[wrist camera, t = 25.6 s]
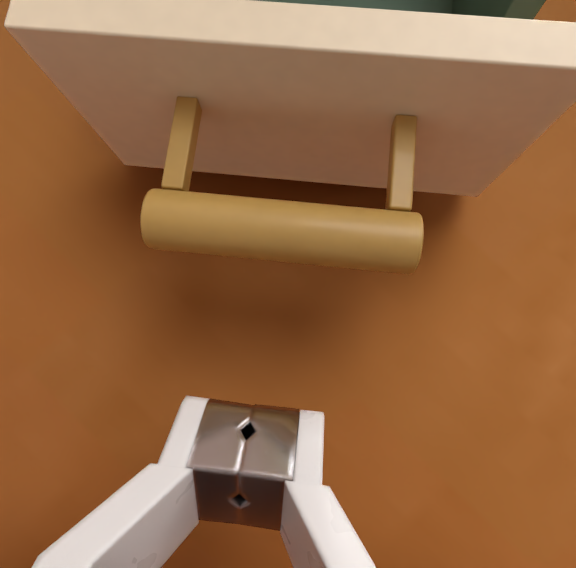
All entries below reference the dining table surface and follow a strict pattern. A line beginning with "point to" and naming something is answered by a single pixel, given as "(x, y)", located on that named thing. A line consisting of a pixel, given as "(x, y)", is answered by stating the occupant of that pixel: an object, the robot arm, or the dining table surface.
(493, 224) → the dining table surface
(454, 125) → the drawer
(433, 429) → the dining table surface
